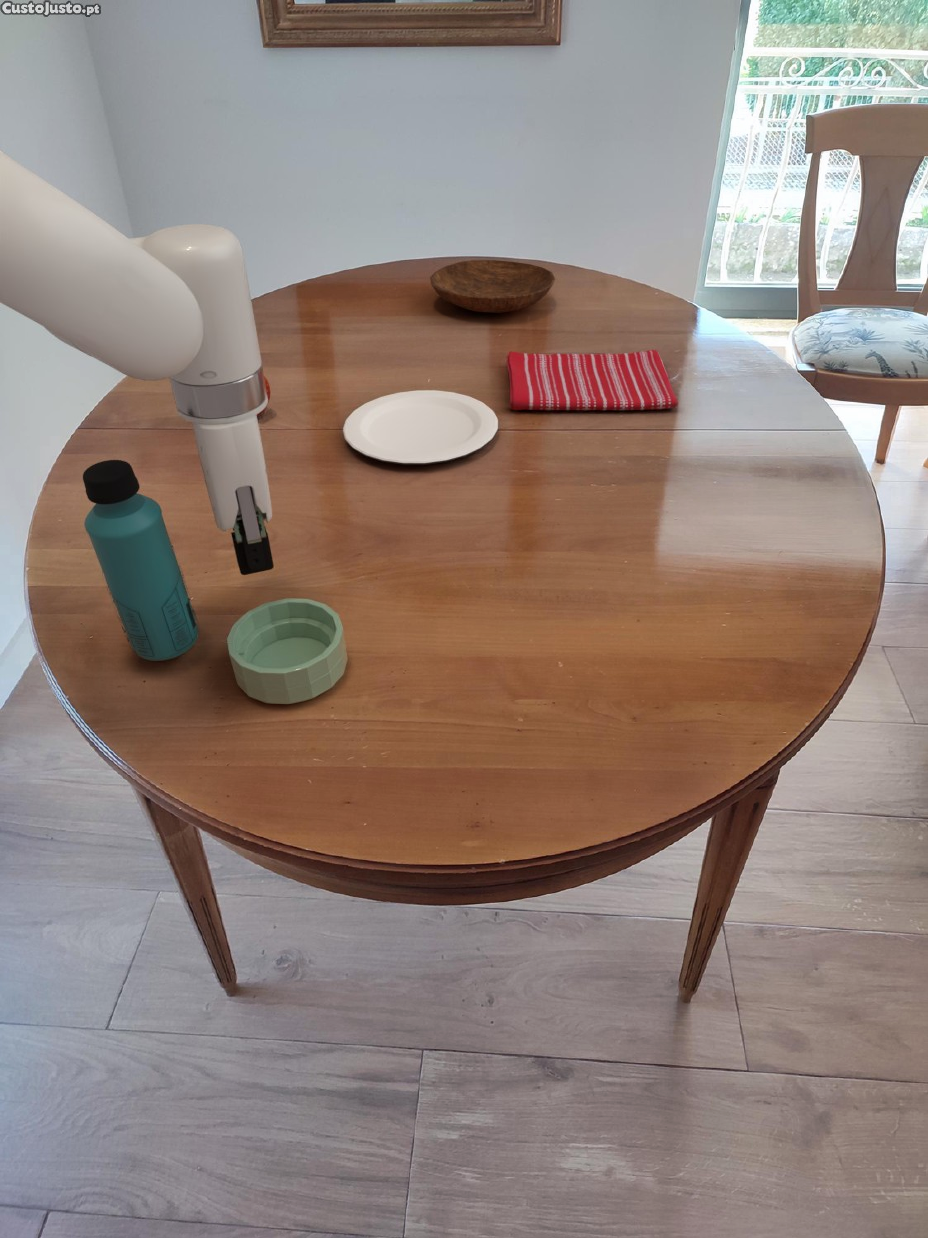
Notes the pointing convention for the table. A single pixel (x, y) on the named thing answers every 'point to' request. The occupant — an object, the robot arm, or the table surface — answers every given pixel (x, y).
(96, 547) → the beverage bottle
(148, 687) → the table surface
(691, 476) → the table surface
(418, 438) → the plate
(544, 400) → the dish towel
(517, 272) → the bowl
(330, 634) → the celadon bowl
